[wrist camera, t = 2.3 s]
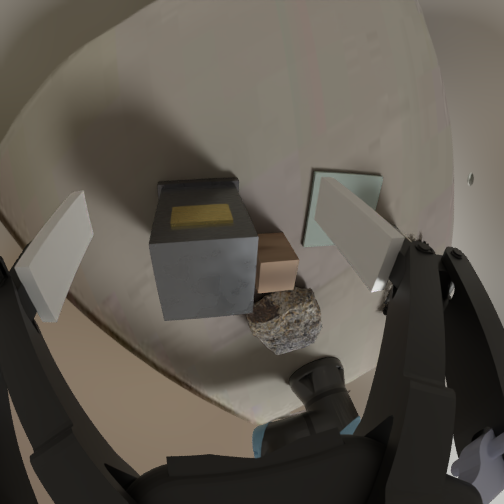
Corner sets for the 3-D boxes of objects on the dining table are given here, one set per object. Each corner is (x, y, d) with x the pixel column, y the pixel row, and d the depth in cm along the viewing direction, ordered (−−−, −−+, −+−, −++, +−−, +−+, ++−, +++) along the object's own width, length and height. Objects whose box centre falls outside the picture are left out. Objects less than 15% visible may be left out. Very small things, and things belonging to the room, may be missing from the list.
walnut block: (279, 260, 43) (293, 289, 37) (247, 262, 42) (258, 293, 36) (282, 232, 40) (299, 259, 34) (249, 234, 39) (260, 262, 33)
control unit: (235, 247, 39) (256, 318, 28) (166, 252, 37) (161, 327, 26) (237, 177, 34) (264, 231, 22) (158, 181, 32) (141, 239, 20)
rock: (318, 320, 54) (305, 267, 46) (330, 343, 49) (321, 291, 40) (261, 344, 54) (236, 296, 45) (270, 368, 49) (244, 323, 40)
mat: (364, 241, 44) (366, 242, 44) (302, 245, 42) (303, 247, 41) (381, 175, 38) (383, 177, 37) (314, 171, 35) (315, 172, 35)
